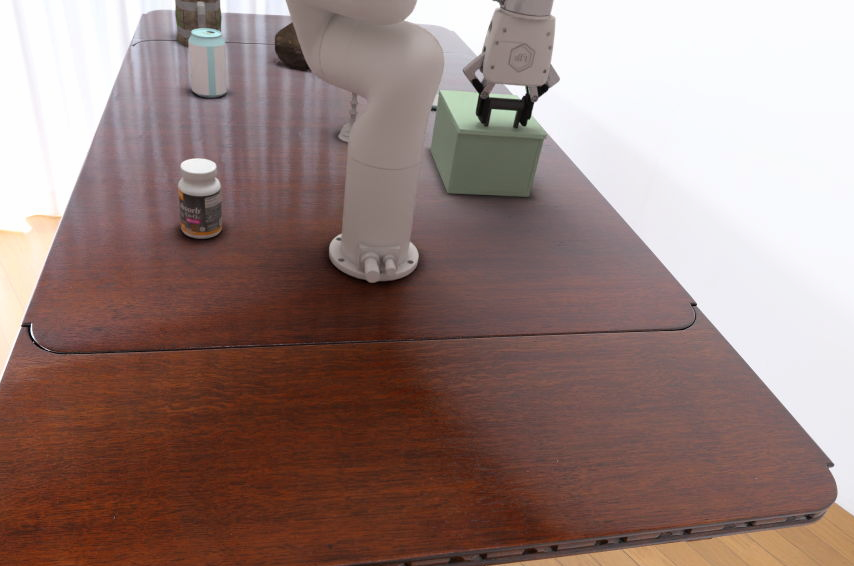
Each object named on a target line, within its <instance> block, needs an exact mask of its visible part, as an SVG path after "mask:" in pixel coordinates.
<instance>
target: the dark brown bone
mask: <svg viewBox="0 0 854 566" xmlns="http://www.w3.org/2000/svg"><path fill="white" fill-rule="evenodd" d="M274 52H275V54H276V55H277V57H278V59H279V61H280V62H282V63H283V64H284V65H285V66H286V67H287V68H291V69H297V70H304V71H307V70H311V69H310V68H309V66H308V64H307V62H306V60H305V58H304V55H303V52H302V49H301V46H300V44H299V40H298V37H297V34H296V31H295V28H294V25H293V22H291V23H289V24H287V25H286V26H283V28H281V29H279V30H278V31H277V33H276V34H275V35H274Z"/></svg>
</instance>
